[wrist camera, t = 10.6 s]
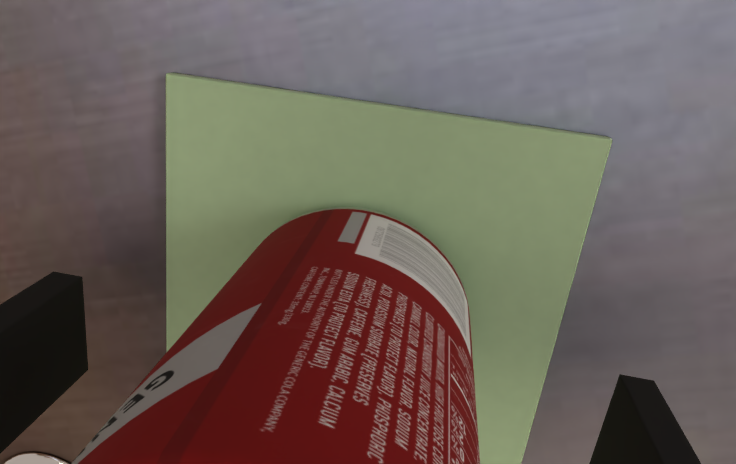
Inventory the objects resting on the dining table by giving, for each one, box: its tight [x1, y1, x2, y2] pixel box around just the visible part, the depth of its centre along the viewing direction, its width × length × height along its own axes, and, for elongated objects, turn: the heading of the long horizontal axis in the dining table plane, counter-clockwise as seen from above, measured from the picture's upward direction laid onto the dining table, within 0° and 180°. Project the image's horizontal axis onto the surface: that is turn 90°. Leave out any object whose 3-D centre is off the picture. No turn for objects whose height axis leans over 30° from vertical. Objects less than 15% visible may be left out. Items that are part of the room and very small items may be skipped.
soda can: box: [71, 207, 480, 464], centre depth 12 cm, size 7×7×12 cm
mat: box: [166, 73, 612, 464], centre depth 17 cm, size 12×12×1 cm
